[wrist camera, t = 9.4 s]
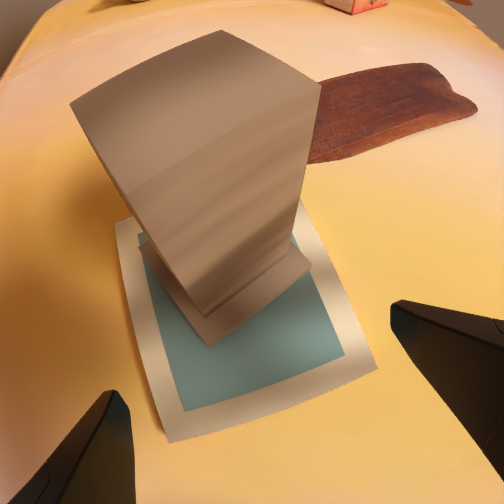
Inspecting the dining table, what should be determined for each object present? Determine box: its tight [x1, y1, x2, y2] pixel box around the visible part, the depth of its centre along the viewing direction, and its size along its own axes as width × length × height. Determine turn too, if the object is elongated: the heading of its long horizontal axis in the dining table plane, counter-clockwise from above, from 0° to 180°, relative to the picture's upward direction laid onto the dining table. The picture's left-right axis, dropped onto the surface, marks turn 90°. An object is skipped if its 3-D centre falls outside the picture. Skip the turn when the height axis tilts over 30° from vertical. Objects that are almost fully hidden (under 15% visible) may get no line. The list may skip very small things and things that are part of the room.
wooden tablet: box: [307, 63, 478, 164], centre depth 26 cm, size 27×10×2 cm, turn 117°
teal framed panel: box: [114, 198, 378, 443], centre depth 18 cm, size 14×12×1 cm
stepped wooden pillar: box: [69, 30, 322, 348], centre depth 13 cm, size 7×7×12 cm
